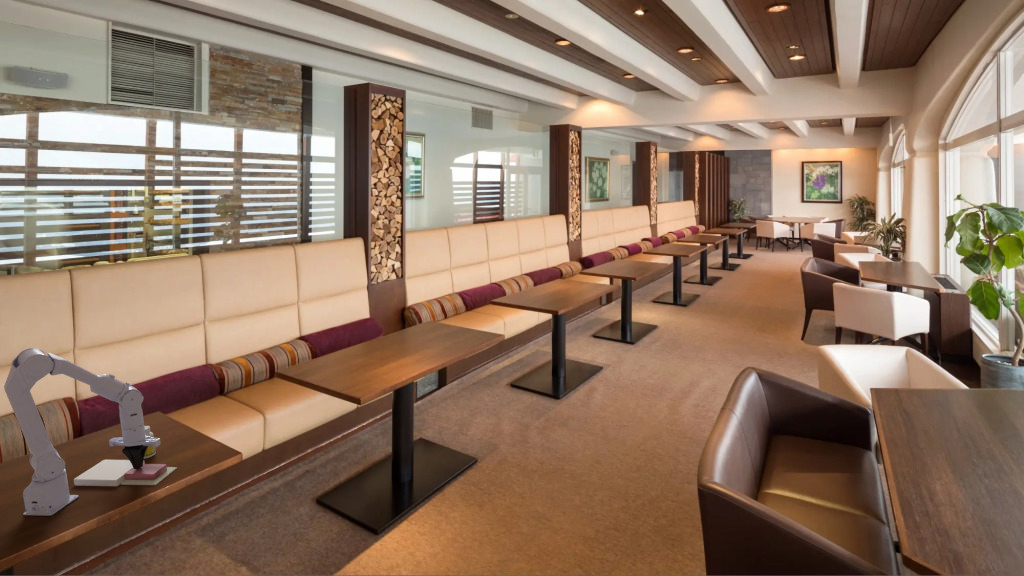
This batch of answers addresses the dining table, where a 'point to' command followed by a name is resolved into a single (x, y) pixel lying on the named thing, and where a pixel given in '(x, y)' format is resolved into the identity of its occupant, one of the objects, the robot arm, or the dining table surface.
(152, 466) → the tile
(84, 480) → the white flat block
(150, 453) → the supplement bottle
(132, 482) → the mat
